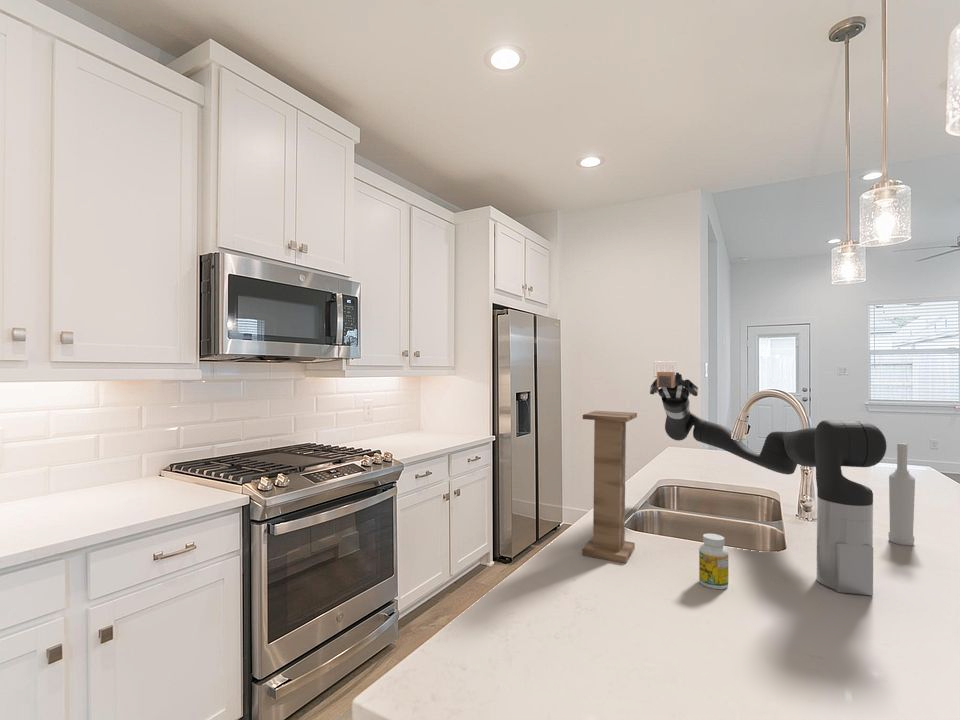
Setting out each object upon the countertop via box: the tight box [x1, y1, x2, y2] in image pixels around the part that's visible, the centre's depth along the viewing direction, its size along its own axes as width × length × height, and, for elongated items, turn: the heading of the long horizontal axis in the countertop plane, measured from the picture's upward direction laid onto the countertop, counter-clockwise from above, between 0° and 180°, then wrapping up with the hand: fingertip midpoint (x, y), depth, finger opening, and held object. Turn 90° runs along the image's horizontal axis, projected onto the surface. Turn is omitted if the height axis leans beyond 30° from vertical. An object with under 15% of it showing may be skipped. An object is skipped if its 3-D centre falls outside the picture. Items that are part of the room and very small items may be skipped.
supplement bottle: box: [698, 533, 729, 590], centre depth 102 cm, size 5×5×10 cm
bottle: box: [887, 442, 916, 546], centre depth 129 cm, size 5×5×25 cm
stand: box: [581, 410, 638, 564], centre depth 119 cm, size 12×10×32 cm
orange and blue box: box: [656, 371, 678, 388], centre depth 139 cm, size 18×4×4 cm, turn 153°
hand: (670, 375), depth 142 cm, fingers closed on orange and blue box, 3 cm apart
